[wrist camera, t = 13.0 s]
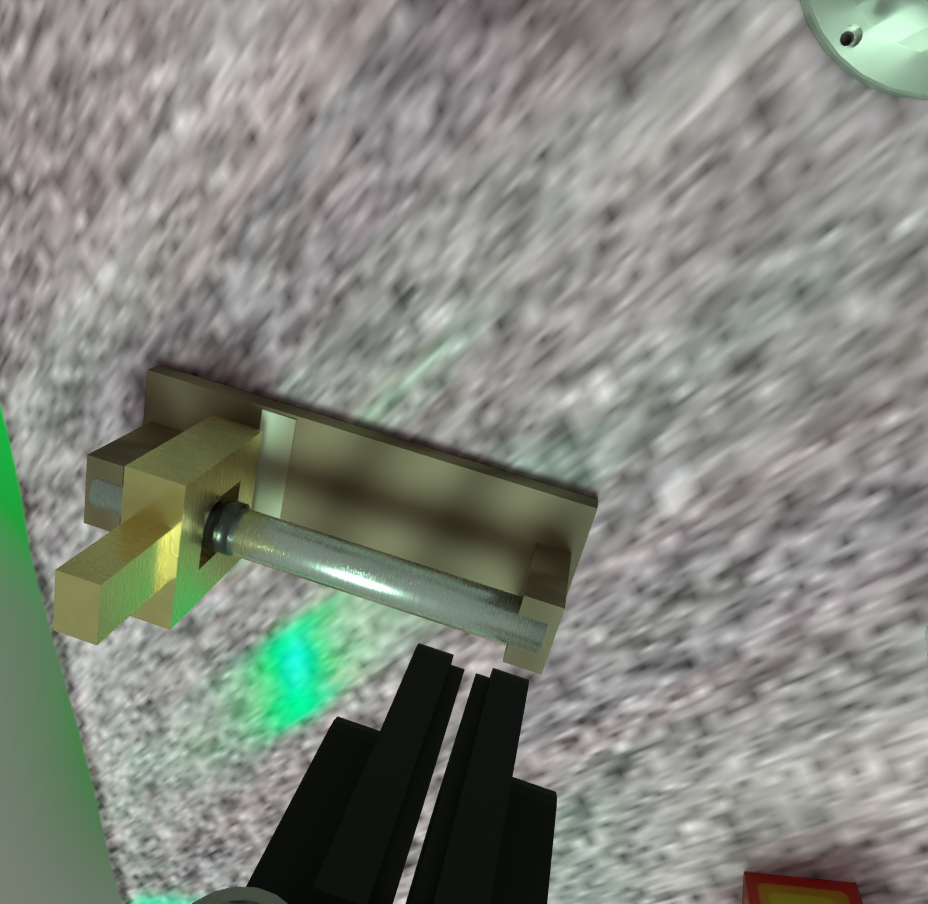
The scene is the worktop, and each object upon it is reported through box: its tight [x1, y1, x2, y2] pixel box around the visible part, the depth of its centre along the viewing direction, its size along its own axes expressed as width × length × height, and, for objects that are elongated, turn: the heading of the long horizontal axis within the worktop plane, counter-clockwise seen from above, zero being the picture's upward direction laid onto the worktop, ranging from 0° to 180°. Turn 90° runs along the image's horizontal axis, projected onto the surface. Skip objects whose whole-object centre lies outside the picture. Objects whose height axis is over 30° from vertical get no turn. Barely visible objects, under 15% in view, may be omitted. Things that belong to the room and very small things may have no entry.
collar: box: [53, 415, 263, 645], centre depth 36 cm, size 3×8×13 cm, turn 166°
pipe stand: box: [84, 365, 598, 674], centre depth 40 cm, size 26×10×7 cm, turn 76°
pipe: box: [89, 477, 548, 653], centre depth 38 cm, size 24×3×3 cm, turn 76°
